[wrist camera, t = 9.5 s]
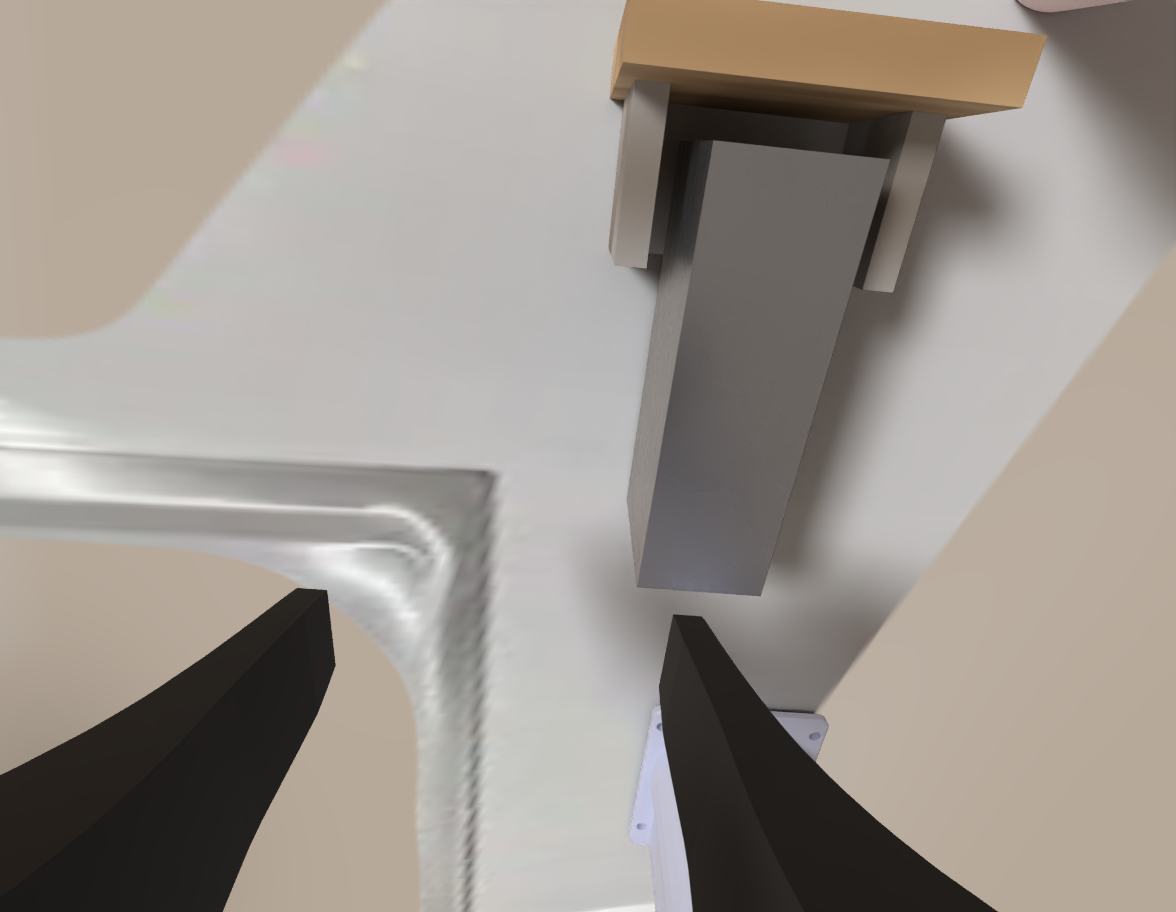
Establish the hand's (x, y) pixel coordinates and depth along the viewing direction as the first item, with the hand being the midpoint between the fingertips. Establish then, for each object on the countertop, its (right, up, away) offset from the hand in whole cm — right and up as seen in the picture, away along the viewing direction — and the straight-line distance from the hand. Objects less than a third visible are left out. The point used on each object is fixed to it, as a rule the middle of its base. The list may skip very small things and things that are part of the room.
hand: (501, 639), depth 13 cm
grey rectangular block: (+6, +7, +7) cm, 12 cm away
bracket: (+6, +12, +5) cm, 14 cm away
